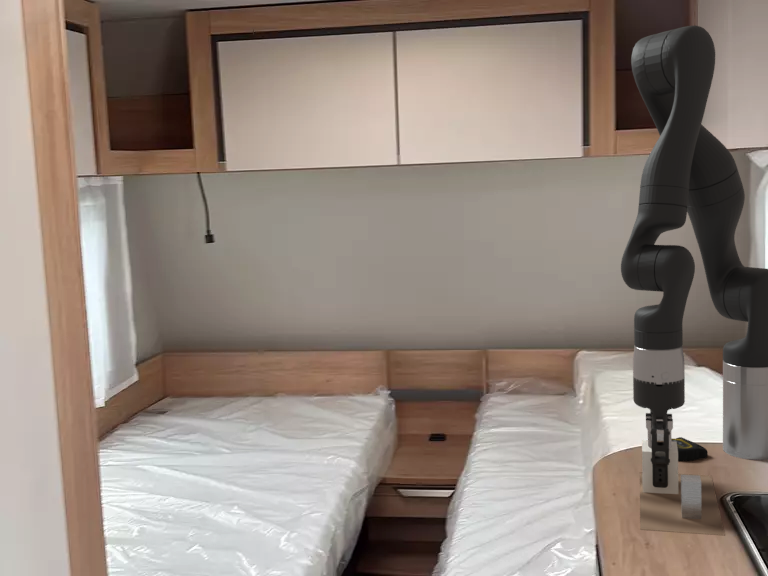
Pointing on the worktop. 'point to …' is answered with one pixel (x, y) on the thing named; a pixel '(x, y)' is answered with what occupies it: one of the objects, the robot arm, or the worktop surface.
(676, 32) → the robot arm
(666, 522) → the board
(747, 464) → the worktop surface
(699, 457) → the tape measure
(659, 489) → the white rectangular block
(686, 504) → the post
